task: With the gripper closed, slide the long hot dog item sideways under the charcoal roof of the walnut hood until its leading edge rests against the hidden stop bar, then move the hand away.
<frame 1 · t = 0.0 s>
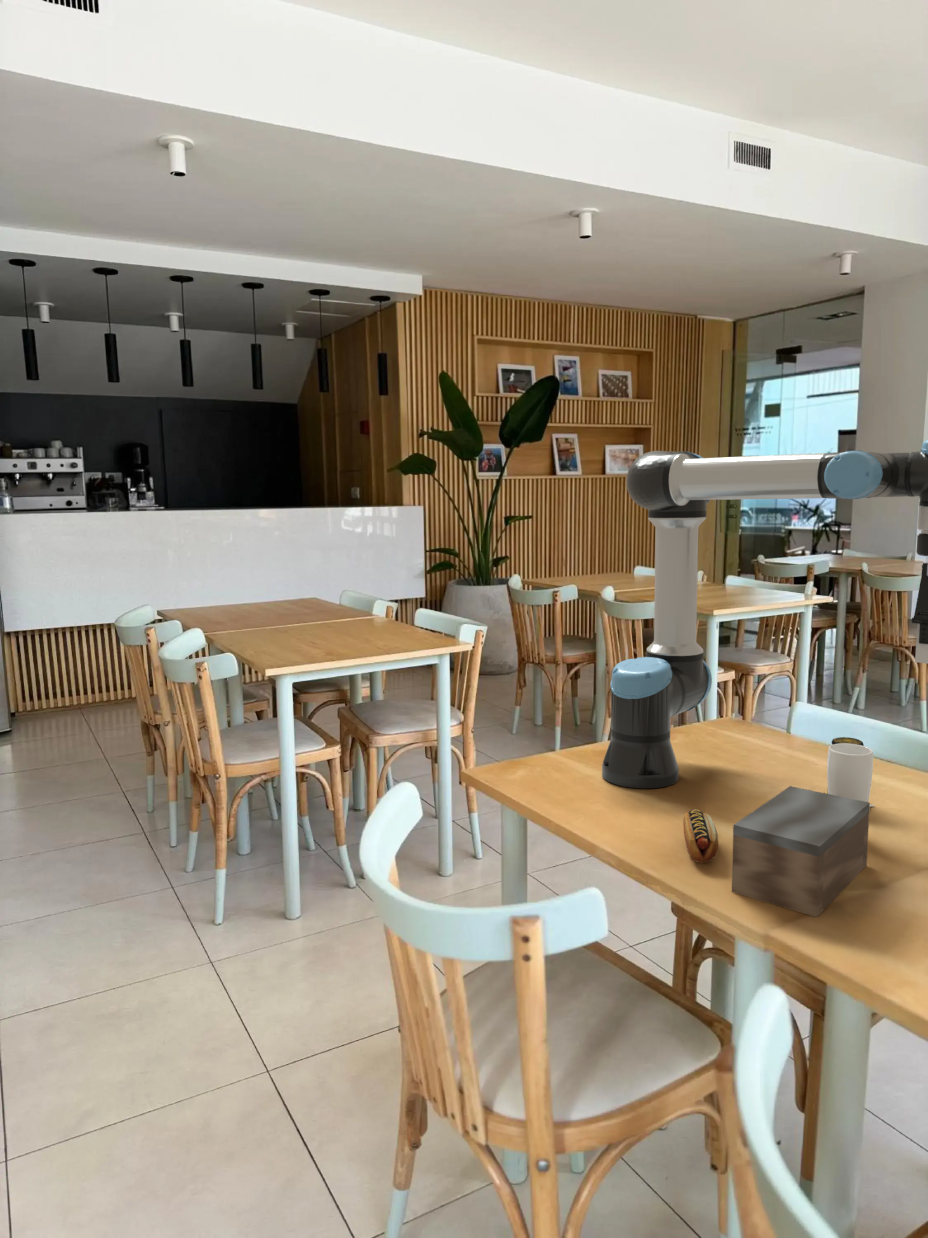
white tapered cylinder: (846, 838, 143), on the table
hot dog: (700, 852, 139), on the table
hood: (801, 878, 128), on the table
condiment: (841, 803, 159), on the table
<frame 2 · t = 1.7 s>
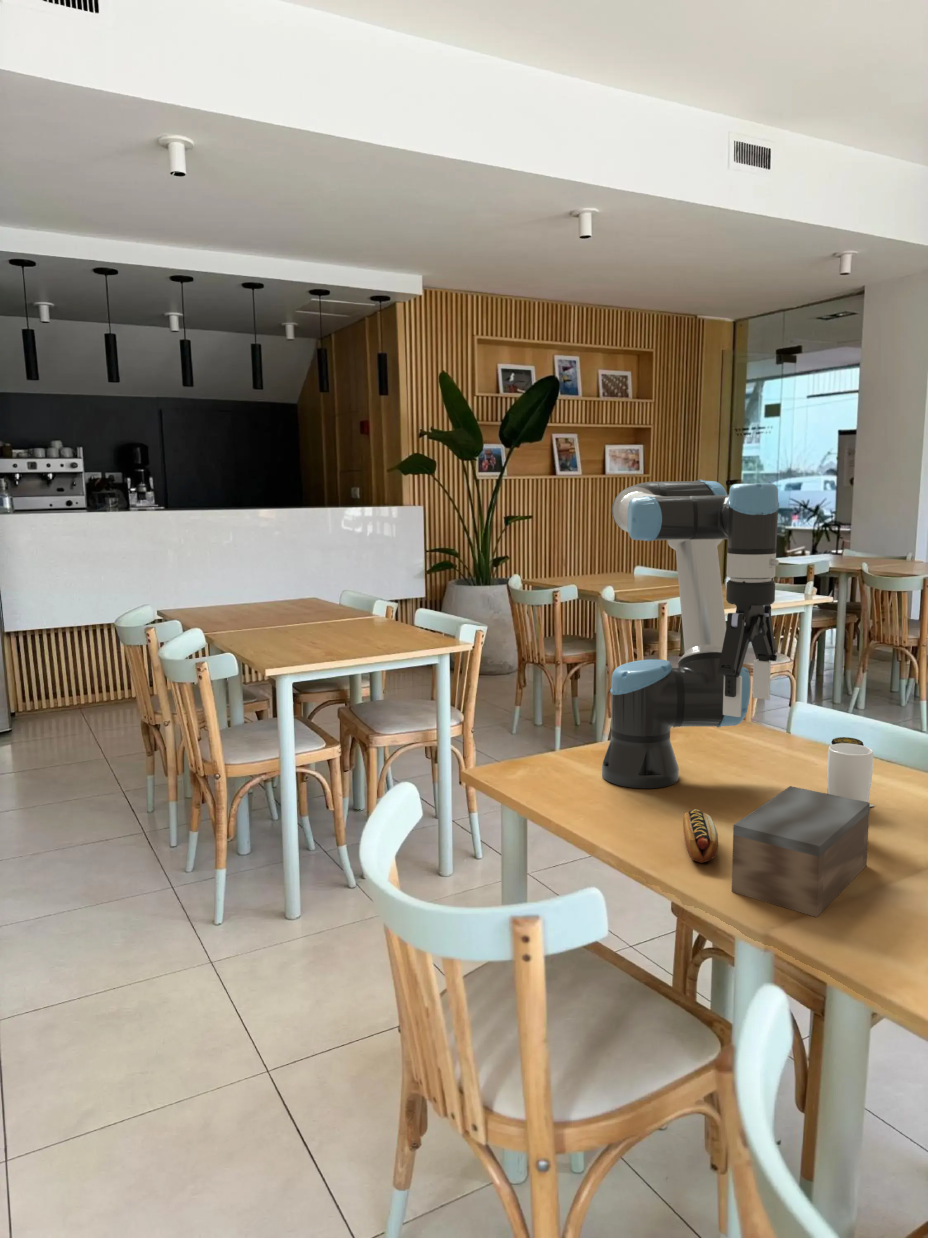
hand: (746, 707, 144), 21 cm above the table, tool pointing down, fingers open, 13 cm apart
nothing on the table moved.
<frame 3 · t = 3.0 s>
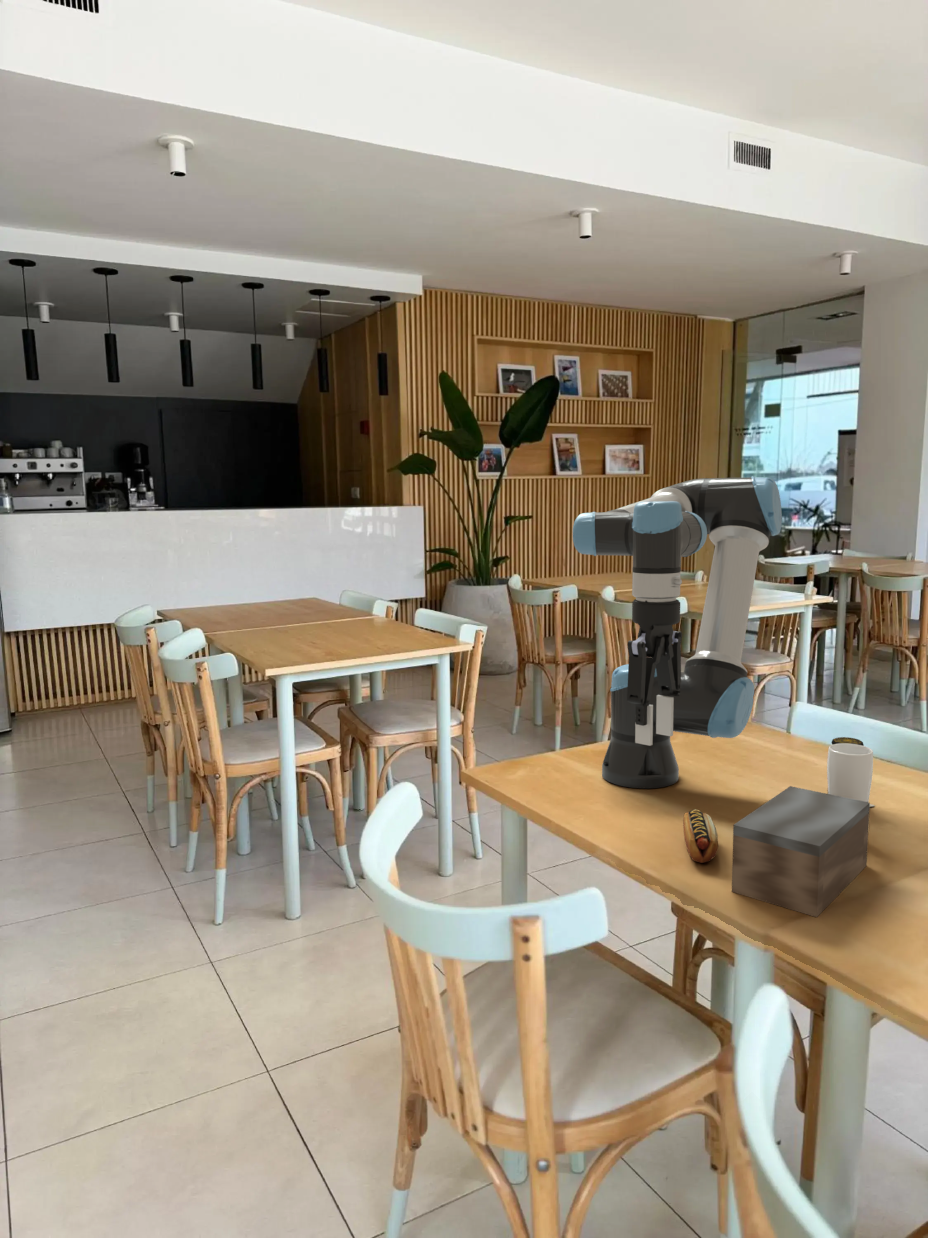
hand: (654, 738, 142), 17 cm above the table, tool pointing down, fingers open, 6 cm apart
nothing on the table moved.
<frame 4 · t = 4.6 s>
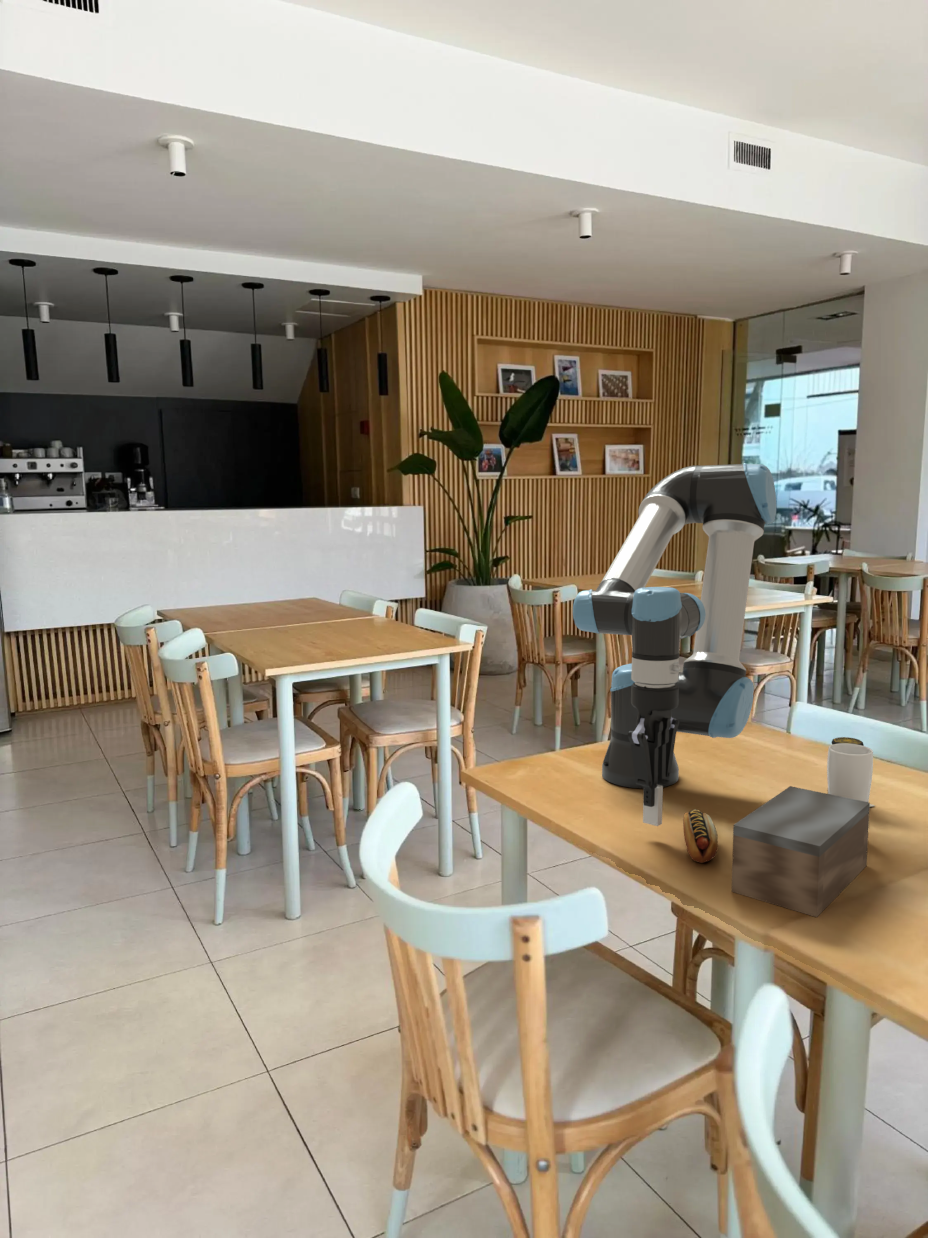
hand: (652, 823, 144), 3 cm above the table, tool pointing down, fingers closed
nothing on the table moved.
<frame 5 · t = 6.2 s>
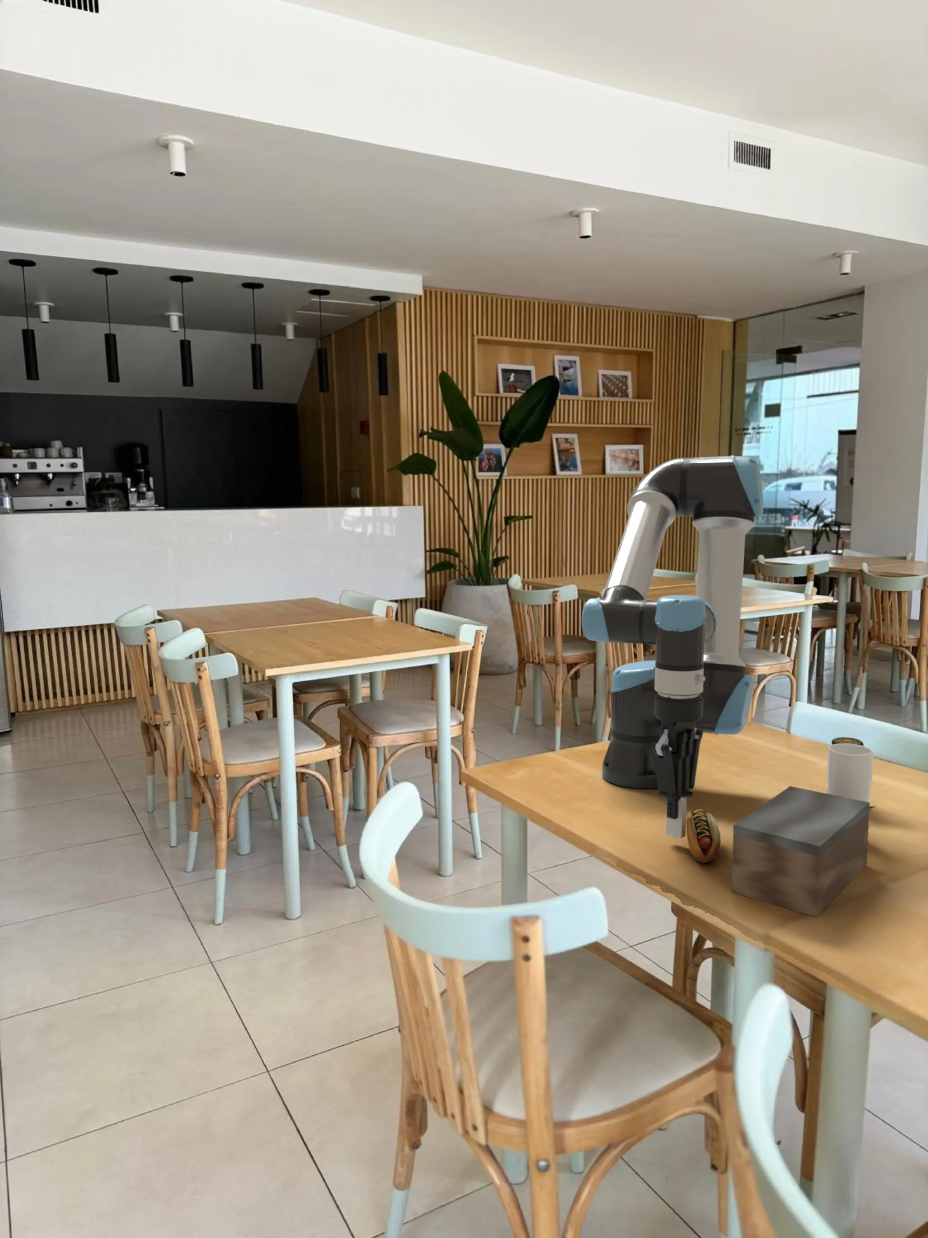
hand: (675, 835, 141), 2 cm above the table, tool pointing down, fingers closed
hot dog: (703, 852, 138), on the table, touching gripper
everything else where it was.
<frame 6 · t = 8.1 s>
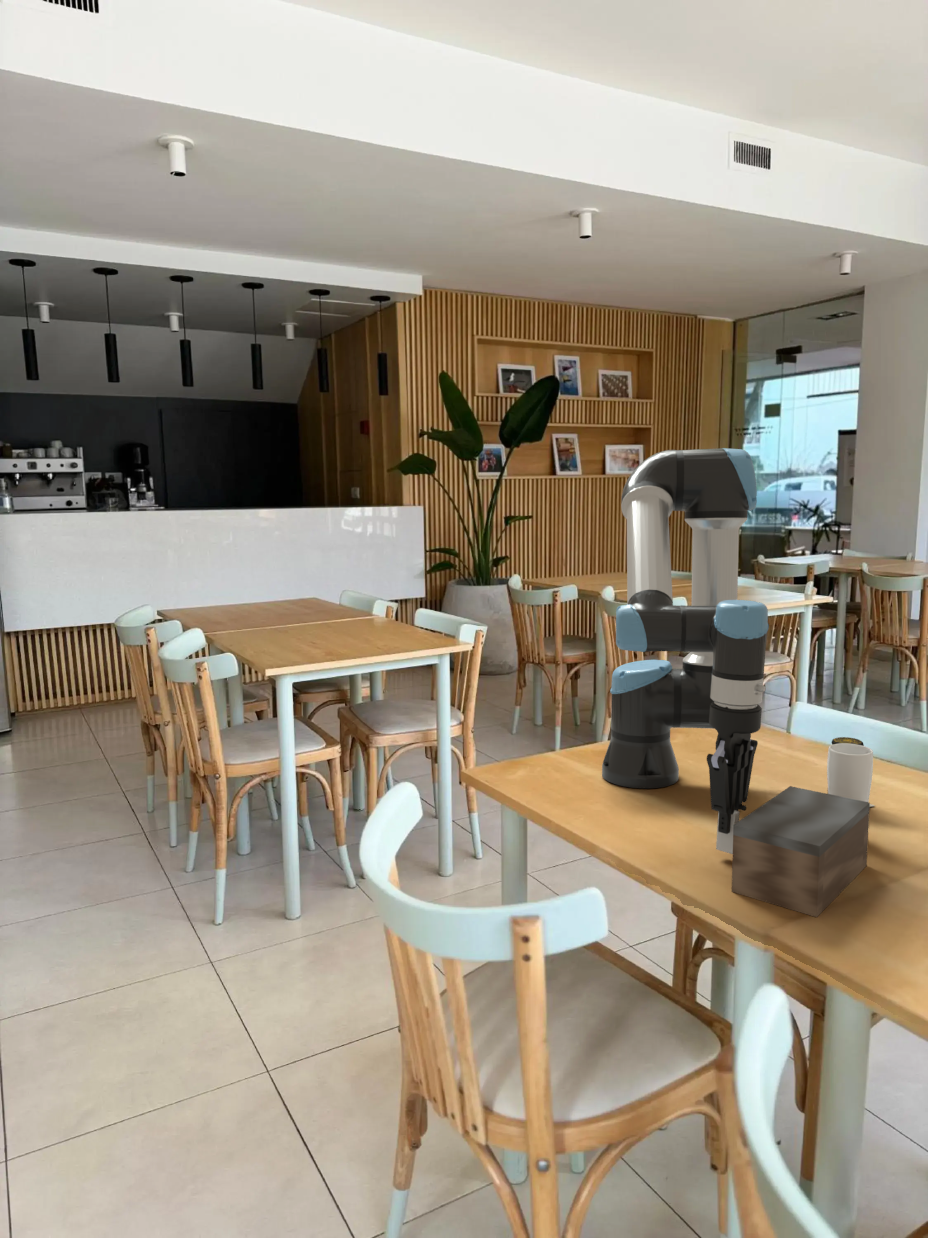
hand: (726, 850, 135), 1 cm above the table, tool pointing down, fingers closed
hot dog: (755, 863, 134), on the table, touching gripper, hood
everything else where it was.
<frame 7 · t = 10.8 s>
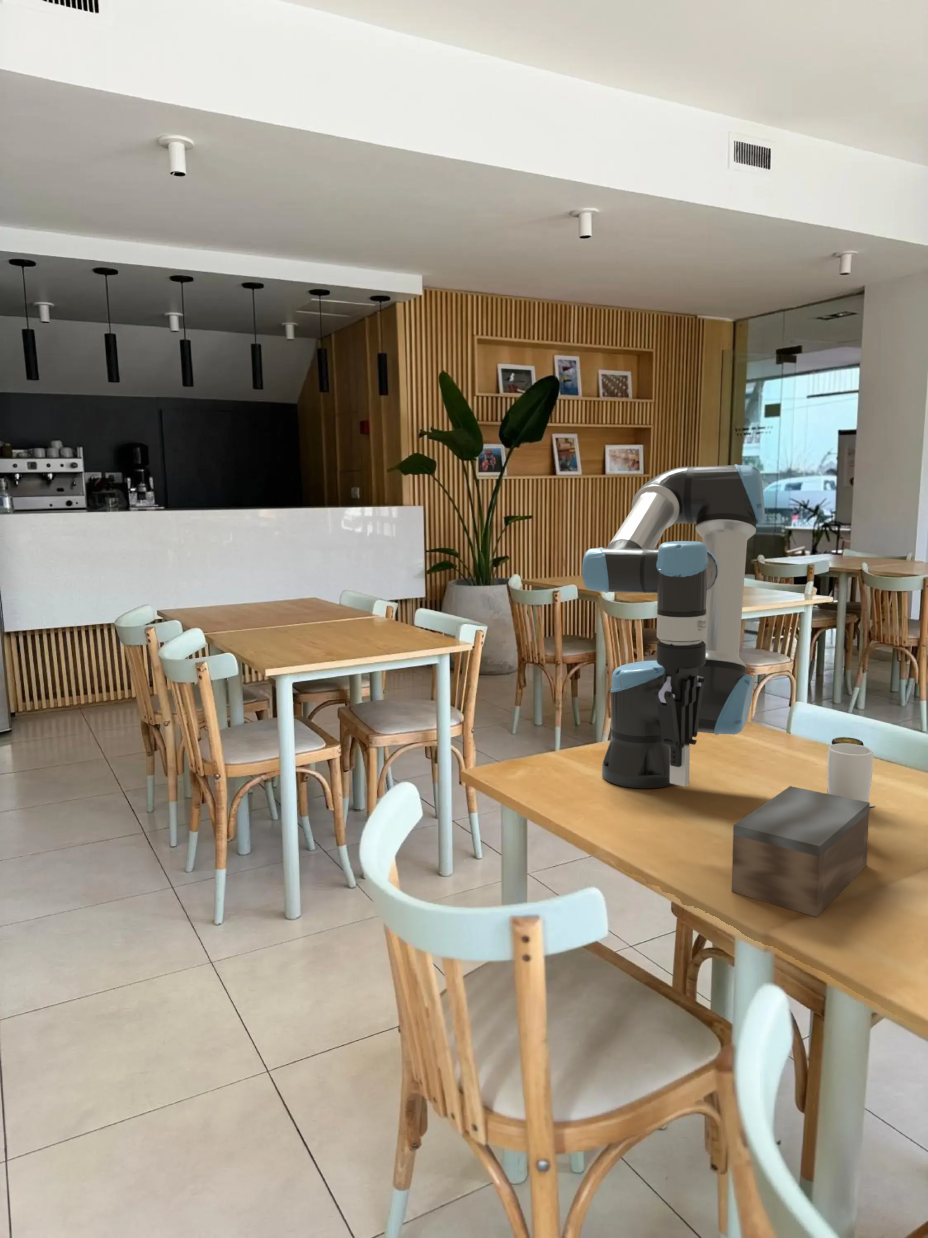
hand: (679, 783, 140), 10 cm above the table, tool pointing down, fingers closed
hot dog: (756, 863, 134), on the table, touching hood
everything else where it was.
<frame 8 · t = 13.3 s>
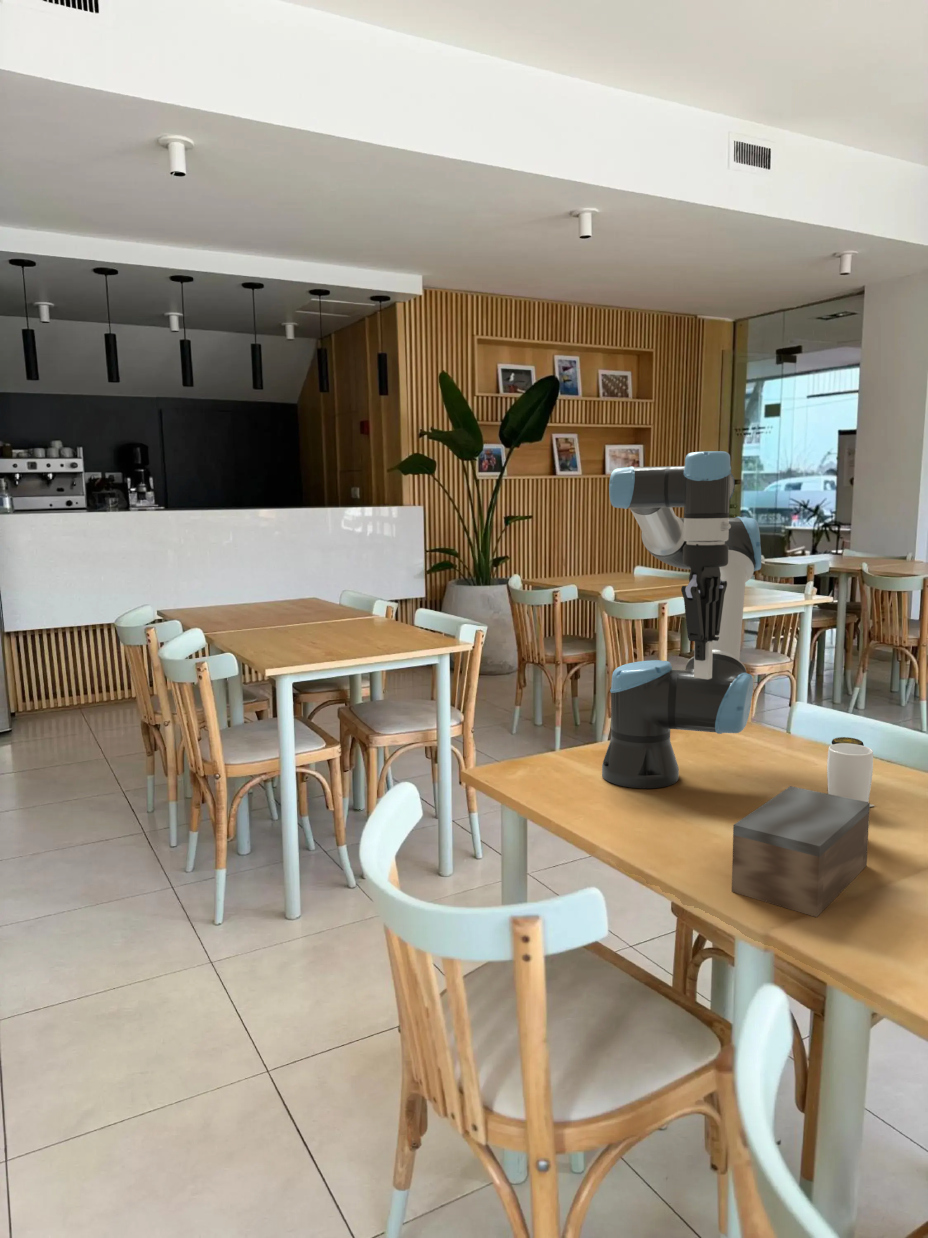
hand: (702, 677, 152), 24 cm above the table, tool pointing down, fingers closed
nothing on the table moved.
at the end: hot dog 1.9 cm from the target spot on the hood, point 0.0 cm above the hood's base; hot dog moved 8.8 cm from its start; hot dog tilted 0° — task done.
